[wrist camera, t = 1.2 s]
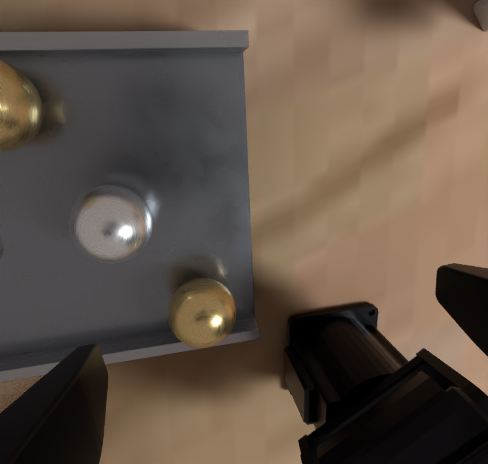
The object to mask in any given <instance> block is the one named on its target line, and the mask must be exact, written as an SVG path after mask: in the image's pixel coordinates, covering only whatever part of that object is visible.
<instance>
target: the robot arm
mask: <svg viewBox="0 0 488 464" xmlns="http://www.w3.org/2000/svg"><path fill="white" fill-rule="evenodd" d="M436 298H437V300H438V302H439V303H440V304H441V305H442V307H443V308H444V309H445V310H446V311H447V312H448V313H449V315H450V316H451V317H452V318H453V319H454V320H455V321H456V323H457V324H458V325H459V326H460V327H461V328H462V330H463V331H464V332H465V333H466V334H467V335H468V336H469V338H470V339H471V340H472V341H473V342H474V343H475V344H476V345H477V346H478V347H479V348H480V349H481V350H482V351H483V352H484V353H485V354H486V355H487V356H488V268H482V267H475V266H469V265H462V264H456V263H453V264H448V265H443V266H440V267H439V268H438V270H437V277H436ZM370 310H371V312H370V313H369V311H370ZM377 319H378V309H377V307H375V306H374V305H373V304H363V305H357V306H351V307H344V308H338V309H332V310H326V311H319V312H313V313H307V314H300V315H294V316H292V317H290V318H289V320H288V346H286V347H285V348H284V378H285V381H286V383H287V385H288V390H289V392H290V394H291V395H292V396H293V399H294V401H295V403H296V406H297V408H298V410H299V412H300V415H301V417H302V419H303V421H304V422H305V423H306V424H307V425H309V424H314V426H315V428H316V430H315V431H313V432H312V433H310V434H309V435H308V436H307V435H304V436H303V437H302V438H300V439H299V440H298V442H299V447H300V451H301V455H300V456H301V461H302V464H488V396H487V395H486V394H485V393H484V392H483V391H481V390H480V389H479V388H478V387H477V386H475V385H474V384H473V383H472V382H470V381H469V380H467V379H466V378H465V377H463V376H462V375H461V374H459V373H458V372H456V371H455V370H454V369H452V368H451V367H449V366H448V365H447V364H445V363H444V362H443V361H441V360H440V359H438V358H437V357H436V356H434V355H433V354H431V353H430V352H429V351H427V350H426V349H425V348H423V349H422V350H420V351H419V352H418V353H416V355H417V356H416V357H414V358H413V359H411V360H410V361H408V360H407V359H406V358H405V357H404V356H403V355H402V354H401V353H400V352H399V351H398V350H397V349H396V348H395V347H394V346H393V345H392V344H391V343H390V342H389V341H388V340H387V339H386V338H385V337H384V336H383V335H382V334H381V333H380V332H379V331H378V330H377ZM295 322H298V323H297V324H296V325H293V324H294V323H295ZM107 389H108V373H107V369H106V366H105V362H104V359H103V356H102V353H101V350H100V347H99V346H98V344H96V343H91V344H87V345H82V346H79V347H77V348H76V349H75V350H74V351H72V352H71V353H70V354H69V355H68V356H67V357H65V358H64V359H63V360H62V361H61V362H60V363H58V364H57V365H56V366H55V367H54V368H53V369H51V370H50V371H49V372H48V373H47V374H46V375H44V376H43V377H42V378H41V379H40V380H39V381H37V382H36V383H35V384H34V385H33V386H32V387H31V388H29V389H28V390H27V391H26V392H25V393H24V394H22V395H21V396H20V397H19V398H18V399H17V400H15V401H14V402H13V403H12V404H11V405H10V406H8V407H7V408H6V409H5V410H4V411H3V412H1V413H0V464H99V462H100V457H101V451H102V445H103V437H104V425H105V413H106V401H107Z"/></svg>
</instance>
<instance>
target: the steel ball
mask: <svg viewBox="0 0 488 464" xmlns="http://www.w3.org/2000/svg"><path fill="white" fill-rule="evenodd" d="M152 226H153V224H152V216H151V212H150V210H149V208H148V206H147V204H146V203H145V201H144V200H143V199H142V198H141V197H140V196H139V195H138V194H137V193H135V192H134V191H132V190H130V189H128V188H125V187H122V186H118V185H102V186H98V187H95V188H92V189H90V190H88V191H87V192H85V193H84V194H83V195H81V196H80V197H79V198H78V199H77V201H76V202H75V204H74V205H73V207H72V209H71V212H70V215H69V221H68V227H69V232H70V236H71V238H72V241H73V243H74V244H75V246H76V247H77V248H78V249H79V250H80V251H81V252H82V253H83V254H84V255H86V256H87V257H89V258H91V259H93V260H95V261H98V262H102V263H119V262H123V261H126V260H129V259H131V258H133V257H134V256H136V255H137V254H139V253H140V252H141V251H142V250H143V249H144V247H145V246H146V245H147V243H148V241H149V239H150V236H151V233H152Z"/></svg>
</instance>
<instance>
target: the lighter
mask: <svg viewBox="0 0 488 464" xmlns="http://www.w3.org/2000/svg"><path fill="white" fill-rule="evenodd" d="M473 10H474V12H475V14H476V17H477V19H478V21H479V23H480V26H481V28H482V30H483V31H486V32H487V31H488V0H479V1H478V2H476V3H475V4H474V8H473Z"/></svg>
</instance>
